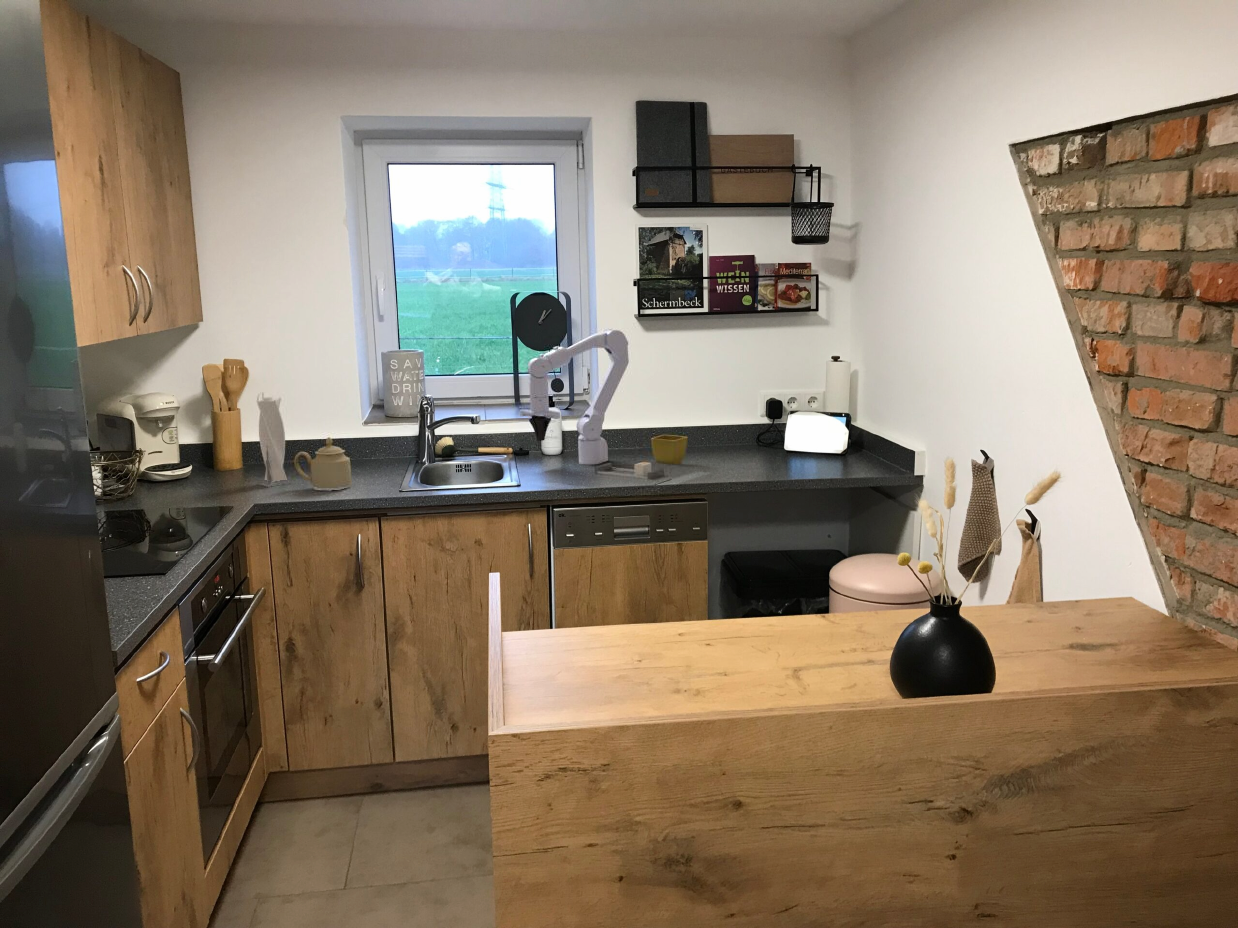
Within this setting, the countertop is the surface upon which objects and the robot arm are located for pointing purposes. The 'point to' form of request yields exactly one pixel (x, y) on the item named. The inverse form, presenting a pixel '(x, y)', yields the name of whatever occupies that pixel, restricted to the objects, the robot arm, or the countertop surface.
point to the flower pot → (669, 448)
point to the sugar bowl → (327, 467)
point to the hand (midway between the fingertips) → (540, 440)
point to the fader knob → (642, 468)
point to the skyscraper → (272, 438)
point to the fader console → (608, 466)
